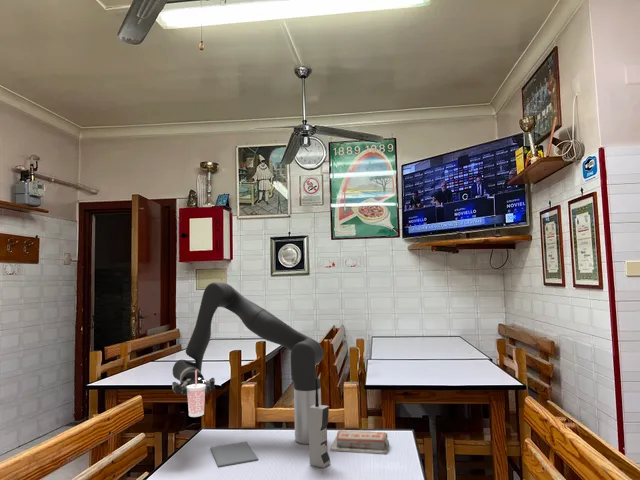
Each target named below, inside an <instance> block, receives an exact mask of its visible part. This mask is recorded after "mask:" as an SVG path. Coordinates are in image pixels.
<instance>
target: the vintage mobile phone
mask: <svg viewBox="0 0 640 480" xmlns="http://www.w3.org/2000/svg"><path fill="white" fill-rule="evenodd" d="M317 378H318V377H317ZM317 378H315V382H316V395H315V398H316V404H315V405H313V406H311V407H309V408H308V411H309V444H308V447H309V449H308V450H309V466H313V467H318V468H322V469H324V468H327V466H329V465H330V464H331V458H330V455H329V453H328V424H329V413H330V406H329V405H324V404H323V405H322V404H321V405H319V404H318V382H317Z"/></svg>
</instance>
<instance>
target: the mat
mask: <svg viewBox="0 0 640 480" xmlns="http://www.w3.org/2000/svg"><path fill="white" fill-rule="evenodd" d="M210 451H211V453H212V456H213V458H214V460H215V463H216V465H217V467H218V468H222V467H228V466H233V465H238V464H245V463H249V462H250V463H251V462H256V461H259V457H258V456H257V454H256V453H255V451H254V450H253V449H252V447H251V445H250V444H249V442H248V441H242V442H234V443H228V444H223V445H221V444H220V445H216V446H210Z"/></svg>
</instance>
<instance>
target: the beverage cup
mask: <svg viewBox="0 0 640 480" xmlns="http://www.w3.org/2000/svg"><path fill="white" fill-rule="evenodd" d="M186 387H187V395H186V396H187V405H188V406H187V408H188V416H189V417H191V418H198V417H202V416H203V415H205V401H206V400H205V398H206V397H205V396H206V391H205V388H206V385H205V384H197V370H195V384H191V385H188V386H186Z"/></svg>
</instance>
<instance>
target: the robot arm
mask: <svg viewBox="0 0 640 480" xmlns="http://www.w3.org/2000/svg"><path fill="white" fill-rule="evenodd" d="M218 308H224V309H226V310H228V311H230V312H231V313H233V314H235V315H236V316H237V317H238V318H239V319H240V320H241V321H242V323H243V324H244V325H243V326H245V327H246V328H247V329H248V330H249V331H250V332H252V333H253V334H255V335H256V336H257V337H259V338H261V339H263V340H265V341H267V342H271V343H273V344H277V345H280V346H282V347H284V348H286V349H288V350H290V374H291V375H290V376H291V381H292V382H293V395H294V397H293V398H294V399H293V402H294V403H293V405H294V408H293V410H294V441H295V442H296V443H298V444H304V445H306V444H307V445H309V411H308V408H309V407H311V406H313V405H315V404H316V398H315V395H316V382H315V378H317V382H318V404H319V405H322V391H321V389H322V388H321V385H322V384H321V379H320V378H319V377H318V376H317V369H316V365H318V364H319V363H321V362H322V360H323V359H324V348H323V347H322V346H321V344H320V343H319V342H318V341H317V340H315V339H313V338H312V337H310V336H307V335H305V334H303V333H301V332H299V331H297V330H296V329H294V328H293V327H291V326H290V325H288V324H287V323H286V322H284V321H283V320H282V319H280V318H278V317H276V316H275V315H274V314H273V313H271V312H270V311H268V310H266V309H265V308H263V307H261V306H260V305H259V304H256V303H255V302H252V301H251V300H250V299H247V298H246V297H245V296H244V295H242V294H241V293H240V292H238V290H236V289H235V288H234V287H233V286H232V285H230V284H228V283H226V282H211V283H209V284H208V285H207V286H206V287H205V288H204V291H203V293H202V298H201V302H200V306H199V310H198V313H197V317H196V318H197V319H196V322H195V326H194V328H193V331H192V334H191V337H190V338H189V341H188V344H187V345H186V348H185V354H186V355H187V356H188V357H189V358H192V359H193V360H194V361H195V362H194V361H193V362H192V361H189V360H186V359H179V360H176V362H175V363H174V364H173V367H172V376H173V377H174V378H175V379H176V380H178V381H179V382H177V381H173V382H172V384H171V385H172V387H171V388H172V391H173V392H174V394H176V395H177V394H182V395H184V396H187V387H186V386H188V385H191V384H195V370H197V384H205V385H206V388H205V393H210V392H211V391H212V390H216V387H215V385H216V384H215V383H216V381H215V380H216V379H215V377H211V378H210V379H209V380H207V379H206V378H204V375H203V374H202V366H203V359H204V355H205V354H206V351H207V348H208V347H209V343H210V341H211V340H210V339H211V335H212V321H213V318H214V316H215V315H214V314H215V313H216V311H217V309H218Z"/></svg>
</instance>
